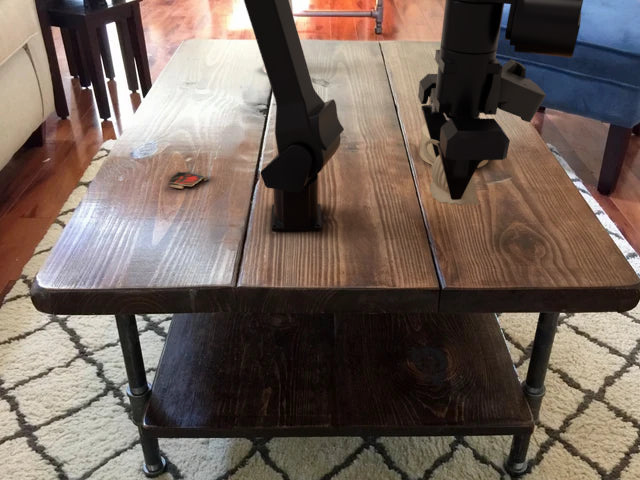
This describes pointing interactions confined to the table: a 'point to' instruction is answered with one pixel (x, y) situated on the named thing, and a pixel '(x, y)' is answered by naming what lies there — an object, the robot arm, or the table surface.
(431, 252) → the table surface
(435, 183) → the decorative ornament
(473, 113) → the robot arm
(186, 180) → the matchbox
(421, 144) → the ceramic puck
